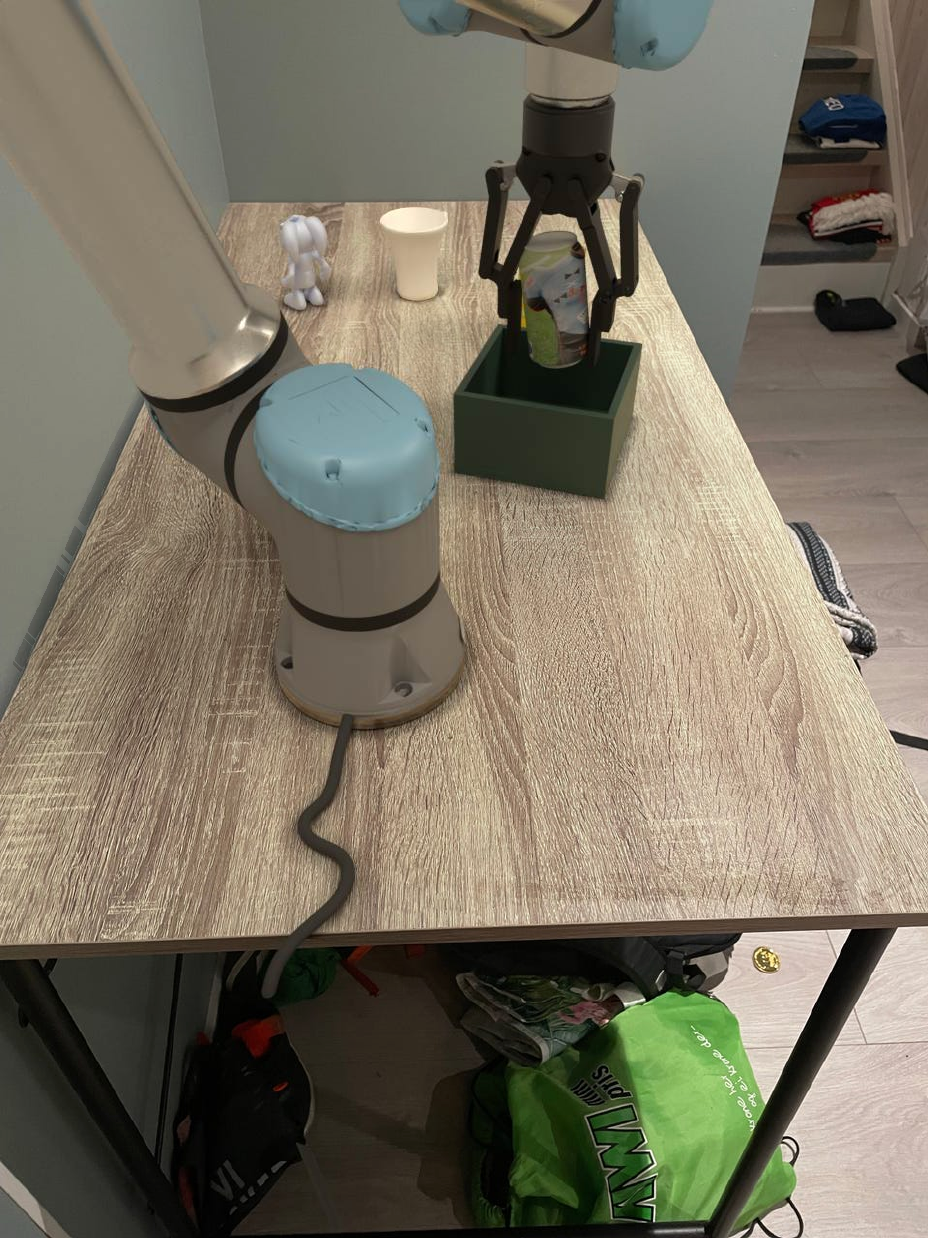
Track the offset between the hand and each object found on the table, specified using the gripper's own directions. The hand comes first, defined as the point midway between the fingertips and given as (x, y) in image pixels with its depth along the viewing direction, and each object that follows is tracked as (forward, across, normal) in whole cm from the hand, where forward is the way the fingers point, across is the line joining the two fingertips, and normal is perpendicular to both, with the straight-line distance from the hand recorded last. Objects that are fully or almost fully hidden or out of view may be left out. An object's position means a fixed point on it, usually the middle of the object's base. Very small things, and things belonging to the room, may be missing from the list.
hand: (552, 354), depth 90 cm
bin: (+10, 0, 0) cm, 10 cm away
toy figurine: (+11, +39, -24) cm, 47 cm away
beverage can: (+1, 0, 0) cm, 1 cm away
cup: (+11, +26, -32) cm, 43 cm away
